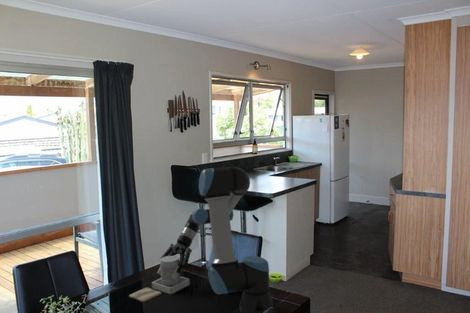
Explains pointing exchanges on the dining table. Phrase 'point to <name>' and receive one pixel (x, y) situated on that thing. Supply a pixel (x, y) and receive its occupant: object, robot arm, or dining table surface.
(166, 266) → the supplement tub
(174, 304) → the dining table surface
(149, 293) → the birch board
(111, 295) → the dining table surface
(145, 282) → the dining table surface
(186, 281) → the grey square frame
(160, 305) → the dining table surface
